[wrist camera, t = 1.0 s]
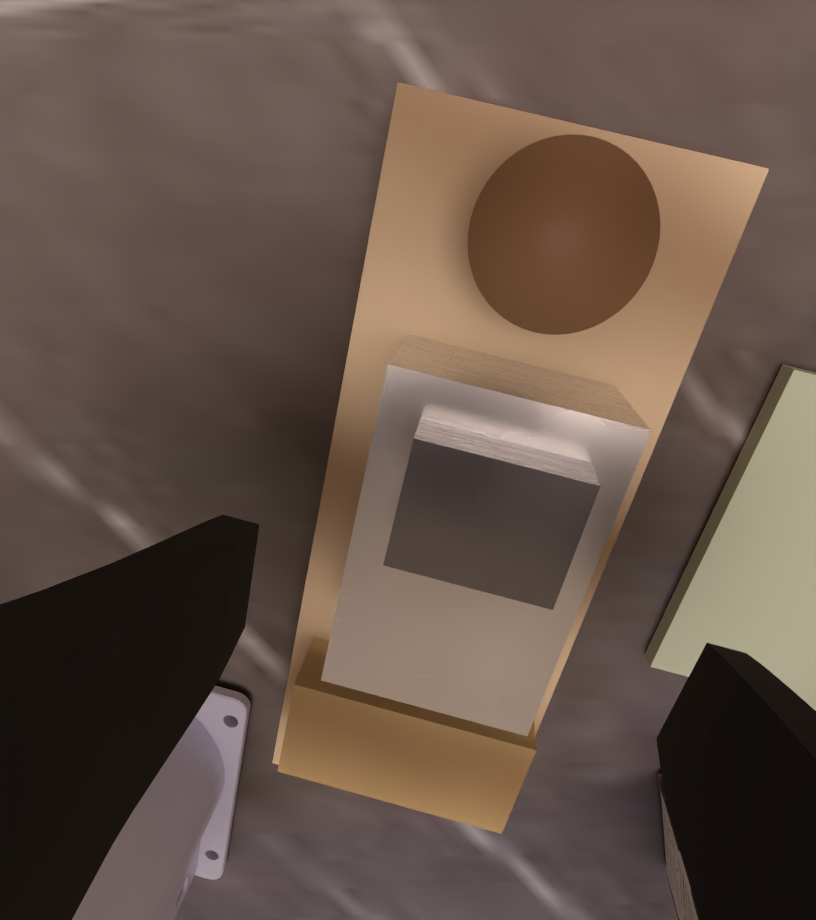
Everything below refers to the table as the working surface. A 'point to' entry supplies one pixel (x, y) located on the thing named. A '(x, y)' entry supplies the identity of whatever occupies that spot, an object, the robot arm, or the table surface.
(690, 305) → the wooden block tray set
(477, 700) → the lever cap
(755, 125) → the table surface
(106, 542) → the table surface
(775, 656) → the felt mat
